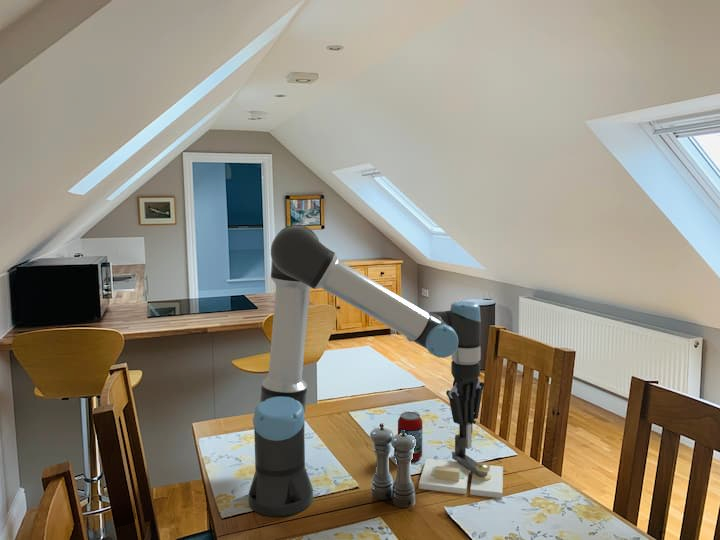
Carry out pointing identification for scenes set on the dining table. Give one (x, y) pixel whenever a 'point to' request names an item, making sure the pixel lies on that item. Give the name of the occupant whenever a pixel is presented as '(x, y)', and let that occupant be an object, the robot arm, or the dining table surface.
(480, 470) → the latch bar
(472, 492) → the block
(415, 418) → the beverage can
